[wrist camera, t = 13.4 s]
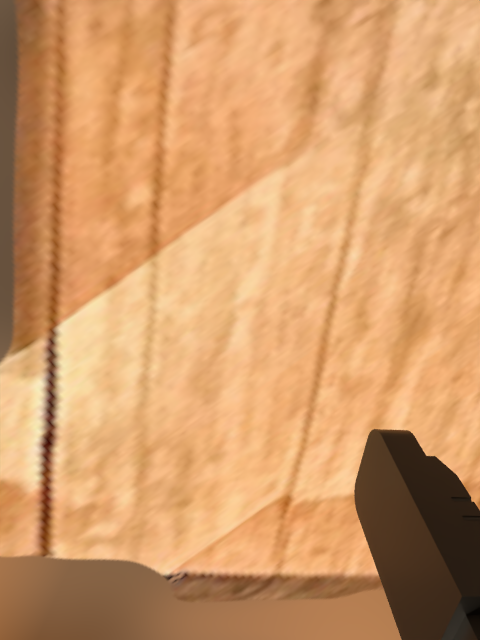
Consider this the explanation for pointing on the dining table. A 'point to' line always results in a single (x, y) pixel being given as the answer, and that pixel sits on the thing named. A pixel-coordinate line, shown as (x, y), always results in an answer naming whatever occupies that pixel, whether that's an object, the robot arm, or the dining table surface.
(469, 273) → the dining table surface
